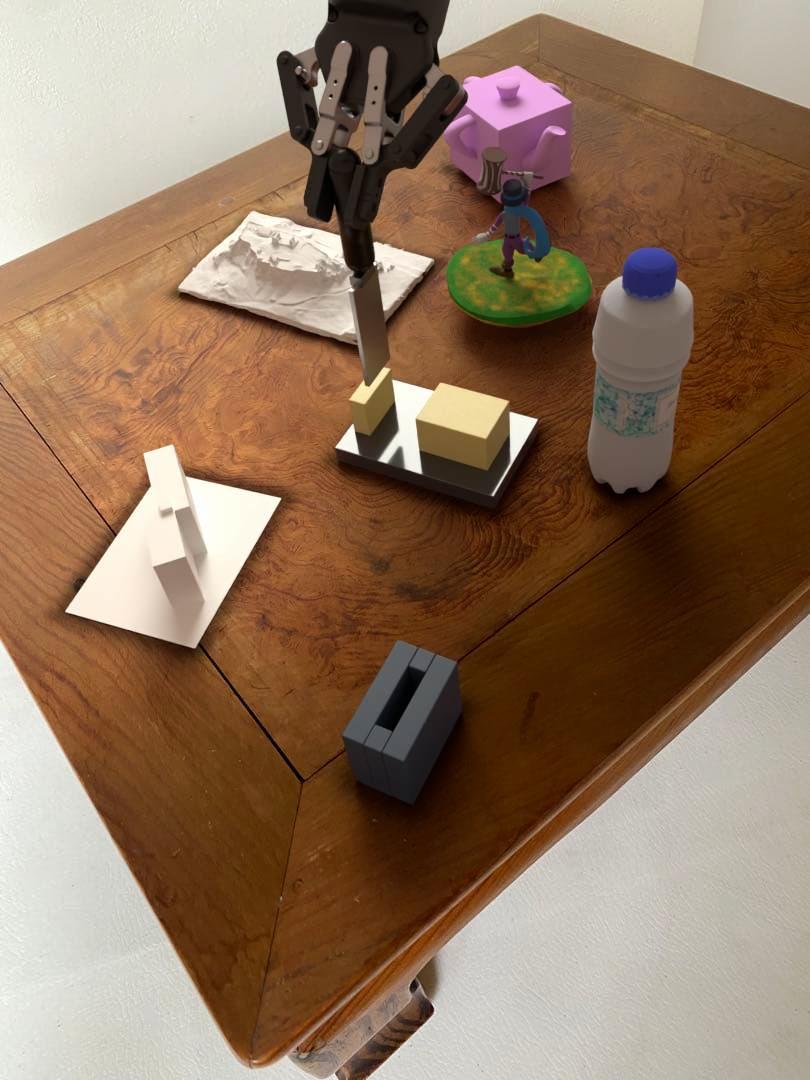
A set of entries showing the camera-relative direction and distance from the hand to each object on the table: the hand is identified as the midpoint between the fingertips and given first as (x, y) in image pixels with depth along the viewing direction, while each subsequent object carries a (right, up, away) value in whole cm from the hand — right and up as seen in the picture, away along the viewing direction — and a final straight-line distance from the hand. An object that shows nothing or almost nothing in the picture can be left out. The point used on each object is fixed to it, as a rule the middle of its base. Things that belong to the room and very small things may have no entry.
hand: (336, 222), depth 65 cm
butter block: (+9, -13, +14) cm, 21 cm away
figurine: (+15, +1, +26) cm, 30 cm away
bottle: (+22, -16, +12) cm, 30 cm away
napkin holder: (-13, -22, +11) cm, 28 cm away
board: (+7, -13, +16) cm, 22 cm away
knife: (+2, -8, +12) cm, 15 cm away
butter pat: (+2, -11, +17) cm, 20 cm away
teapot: (+16, +17, +40) cm, 46 cm away
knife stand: (+5, -34, -1) cm, 35 cm away
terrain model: (-5, +5, +32) cm, 33 cm away
